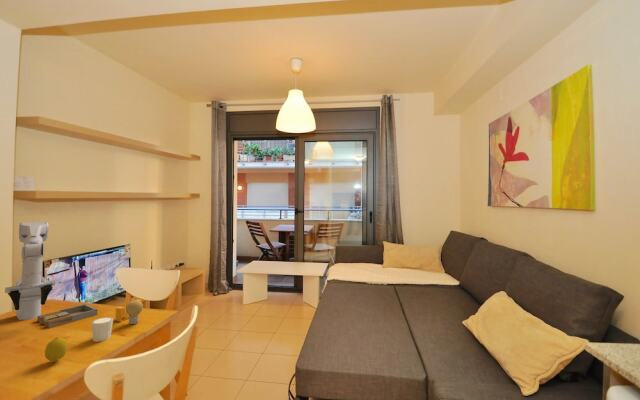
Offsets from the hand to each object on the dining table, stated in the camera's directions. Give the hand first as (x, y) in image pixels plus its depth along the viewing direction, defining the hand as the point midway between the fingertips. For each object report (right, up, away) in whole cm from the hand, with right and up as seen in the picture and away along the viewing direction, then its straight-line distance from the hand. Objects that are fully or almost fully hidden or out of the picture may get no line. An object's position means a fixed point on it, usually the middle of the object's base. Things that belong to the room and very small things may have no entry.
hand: (30, 306), depth 116 cm
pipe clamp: (+28, -11, +17) cm, 35 cm away
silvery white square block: (+4, -9, +9) cm, 14 cm away
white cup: (+32, -11, -4) cm, 34 cm away
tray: (+7, -9, +15) cm, 19 cm away
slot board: (+5, -10, +11) cm, 16 cm away
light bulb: (+36, -11, +10) cm, 39 cm away
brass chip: (+3, -9, +6) cm, 11 cm away
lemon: (+30, -11, -21) cm, 38 cm away
